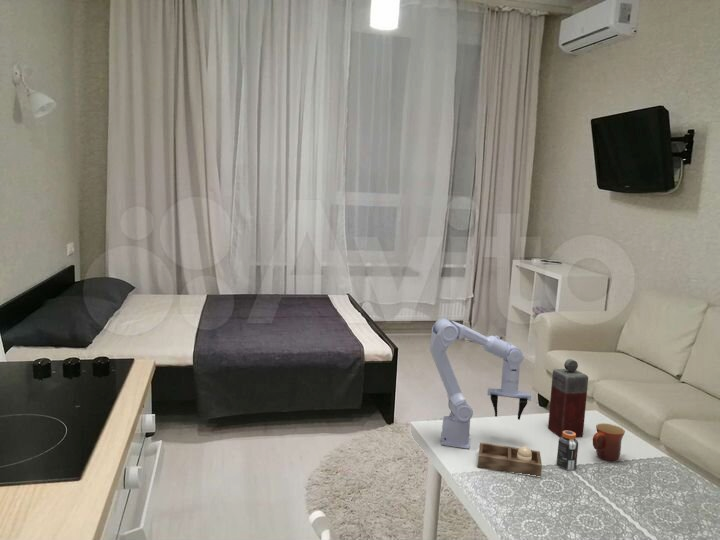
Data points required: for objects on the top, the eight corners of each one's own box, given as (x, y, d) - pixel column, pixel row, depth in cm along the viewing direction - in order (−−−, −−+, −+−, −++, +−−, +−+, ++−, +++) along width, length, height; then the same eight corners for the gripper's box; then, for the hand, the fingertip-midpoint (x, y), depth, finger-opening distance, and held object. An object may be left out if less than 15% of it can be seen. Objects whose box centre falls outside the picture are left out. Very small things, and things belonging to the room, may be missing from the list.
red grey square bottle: (564, 424, 204) (570, 354, 201) (583, 437, 193) (590, 362, 190) (544, 426, 202) (550, 354, 199) (561, 438, 191) (568, 363, 188)
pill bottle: (577, 471, 167) (581, 437, 165) (558, 469, 168) (561, 435, 167) (574, 462, 173) (577, 429, 171) (555, 460, 174) (557, 427, 172)
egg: (516, 466, 166) (517, 448, 166) (516, 460, 171) (518, 443, 170) (530, 469, 165) (532, 451, 164) (530, 462, 169) (532, 445, 169)
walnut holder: (477, 467, 167) (478, 455, 166) (479, 453, 176) (479, 442, 176) (540, 477, 162) (541, 465, 161) (538, 463, 172) (539, 451, 171)
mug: (604, 450, 183) (607, 421, 182) (627, 461, 175) (630, 431, 174) (580, 456, 178) (583, 427, 176) (603, 468, 170) (606, 437, 169)
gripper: (531, 378, 185) (528, 415, 187) (489, 373, 189) (486, 410, 190) (532, 384, 178) (529, 423, 180) (488, 379, 182) (485, 417, 184)
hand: (507, 417), depth 185 cm, fingers open, 7 cm apart
